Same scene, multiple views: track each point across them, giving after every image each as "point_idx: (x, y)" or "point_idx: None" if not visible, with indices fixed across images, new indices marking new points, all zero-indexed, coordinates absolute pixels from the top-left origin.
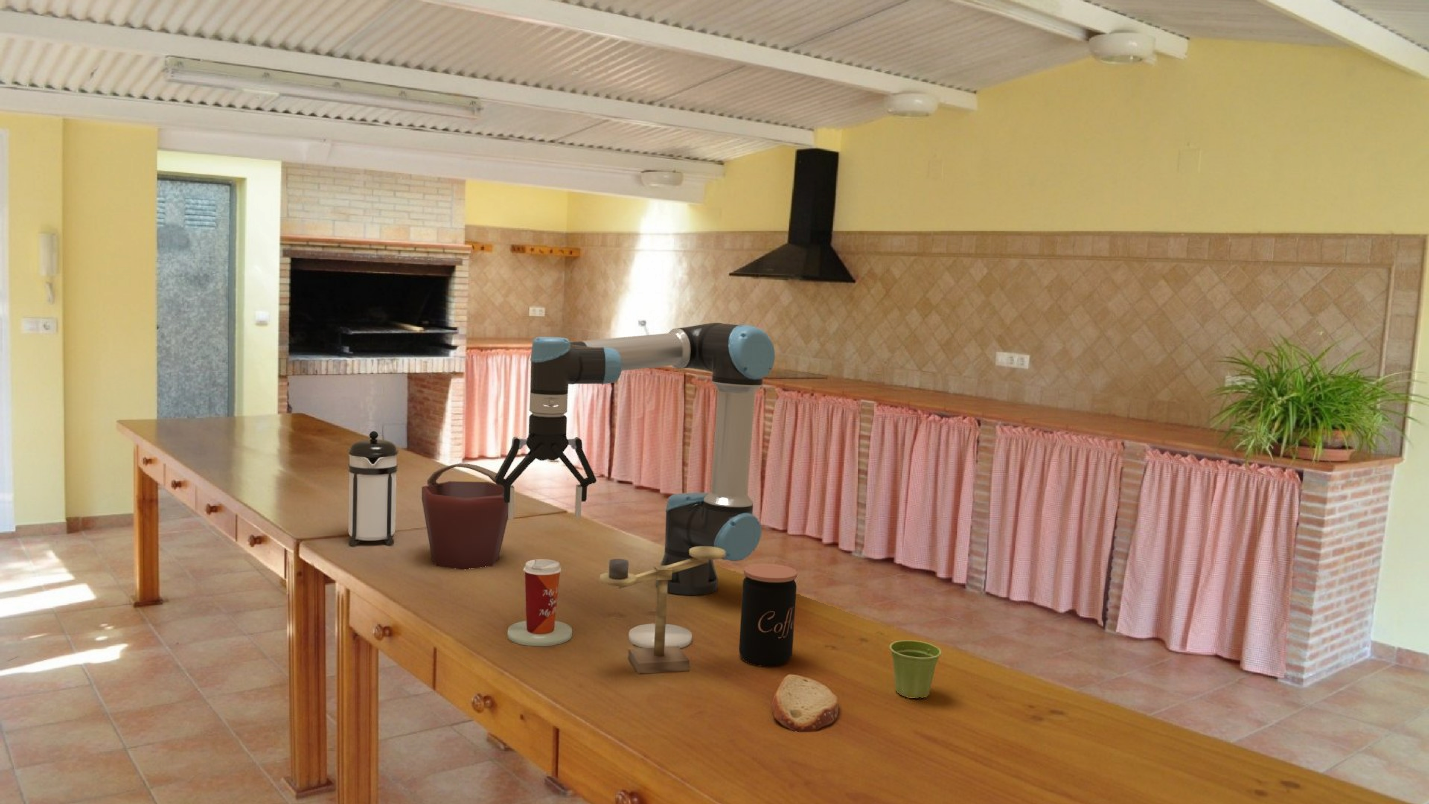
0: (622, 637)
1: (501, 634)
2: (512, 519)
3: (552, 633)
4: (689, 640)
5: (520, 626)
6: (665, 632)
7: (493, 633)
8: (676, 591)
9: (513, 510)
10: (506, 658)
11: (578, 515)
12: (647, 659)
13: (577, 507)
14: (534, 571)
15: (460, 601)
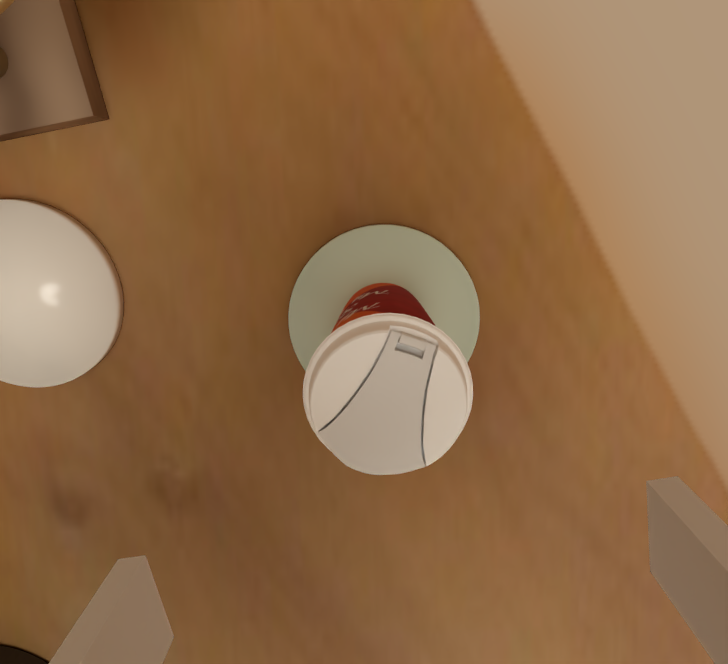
0: (142, 308)
1: (494, 324)
2: (655, 481)
3: (345, 290)
4: None
5: None
6: (6, 309)
7: (517, 332)
8: (18, 657)
9: (692, 528)
10: (477, 115)
11: (125, 575)
12: (22, 9)
13: (104, 629)
14: (423, 332)
15: (608, 583)
